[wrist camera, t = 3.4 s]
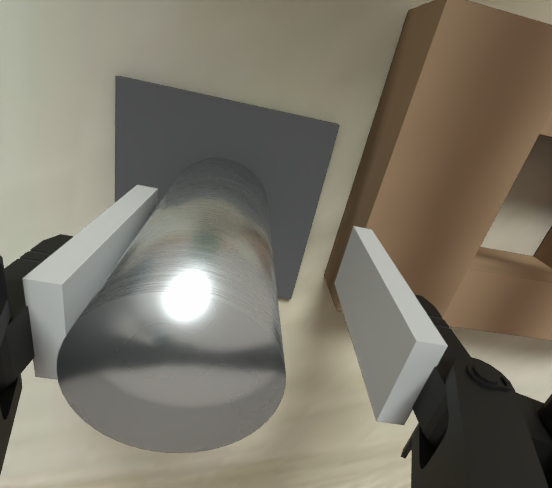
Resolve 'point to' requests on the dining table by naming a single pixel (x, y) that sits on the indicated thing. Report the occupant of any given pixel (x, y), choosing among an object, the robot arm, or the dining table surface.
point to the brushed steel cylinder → (184, 322)
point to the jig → (457, 164)
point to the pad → (226, 155)
